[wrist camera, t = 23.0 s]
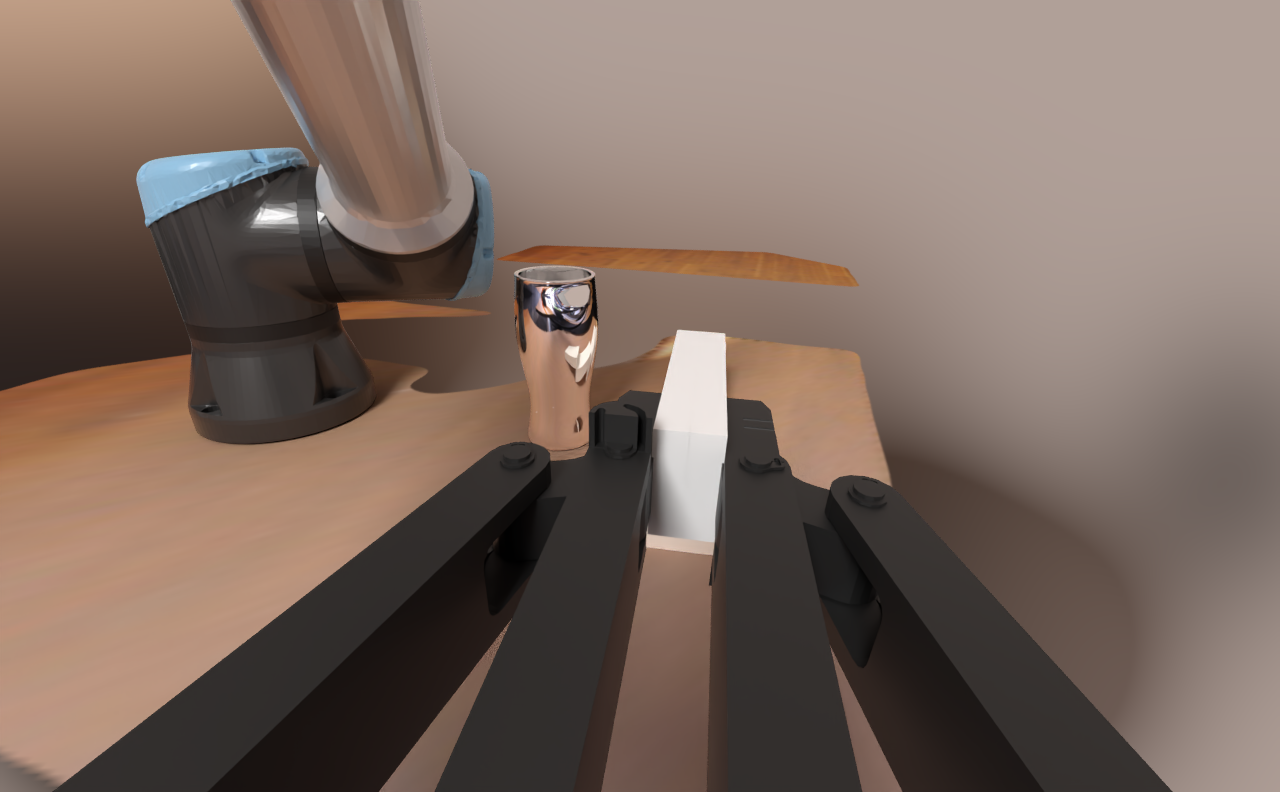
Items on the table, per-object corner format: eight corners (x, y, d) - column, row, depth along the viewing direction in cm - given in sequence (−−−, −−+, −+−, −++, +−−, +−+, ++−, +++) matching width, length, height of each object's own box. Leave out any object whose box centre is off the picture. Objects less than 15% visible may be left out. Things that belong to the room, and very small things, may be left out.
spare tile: (722, 536, 32) (724, 435, 40) (644, 527, 33) (661, 429, 41) (719, 556, 33) (722, 454, 41) (644, 546, 34) (661, 448, 42)
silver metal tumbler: (529, 417, 50) (519, 264, 44) (599, 417, 51) (599, 265, 45) (517, 453, 44) (503, 281, 38) (597, 453, 44) (596, 282, 38)
